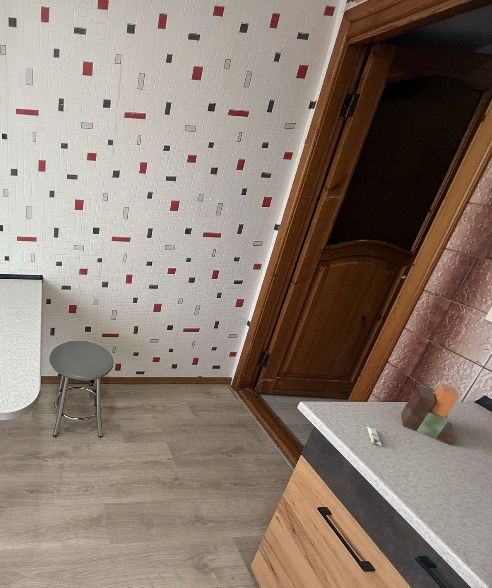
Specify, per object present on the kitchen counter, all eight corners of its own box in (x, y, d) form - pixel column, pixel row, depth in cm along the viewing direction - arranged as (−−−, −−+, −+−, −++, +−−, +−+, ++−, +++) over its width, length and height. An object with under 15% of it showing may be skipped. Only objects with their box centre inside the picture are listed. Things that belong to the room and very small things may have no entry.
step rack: (446, 430, 96) (467, 401, 91) (450, 445, 91) (472, 414, 86) (400, 413, 101) (418, 384, 97) (402, 425, 96) (421, 396, 92)
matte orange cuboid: (442, 407, 94) (455, 388, 91) (445, 417, 91) (459, 397, 88) (427, 402, 96) (440, 383, 93) (430, 411, 92) (443, 391, 89)
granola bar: (365, 427, 94) (367, 424, 94) (375, 431, 93) (377, 428, 93) (370, 443, 89) (372, 440, 88) (381, 447, 88) (383, 444, 87)
